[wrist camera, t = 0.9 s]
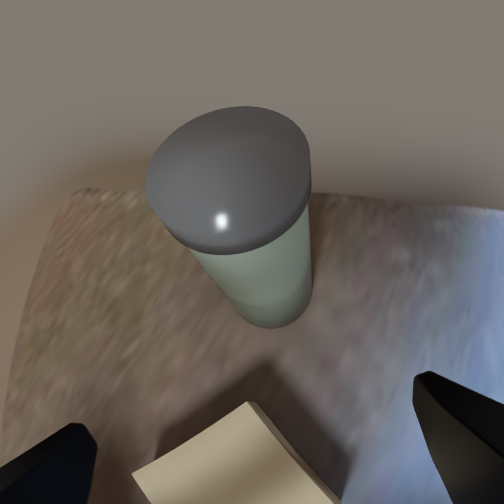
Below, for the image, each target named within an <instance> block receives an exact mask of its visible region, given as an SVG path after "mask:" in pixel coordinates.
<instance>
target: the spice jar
mask: <svg viewBox="0 0 504 504" xmlns="http://www.w3.org/2000/svg"><path fill="white" fill-rule="evenodd" d="M145 192H146V197H147V200H148V203H149V205H150V206H151V208H152V210H153V211H154V212H155V214H156V215H157V216H158V218H159V219H160V220H161V222H162V223H163V224H164V226H165V227H166V228H167V229H168V231H169V232H170V233H171V234H172V236H173V237H174V238H175V239H176V240H178V241H179V242H180V243H181V244H183V245H185V246H186V247H188V249H189V250H190V251H191V253H192V254H193V255H194V257H195V258H196V259H197V260H198V262H199V263H200V264H201V266H202V267H203V268H204V270H205V271H206V272H207V274H208V275H209V276H210V277H211V279H212V280H213V281H214V283H215V284H216V285H217V286H218V288H219V289H220V290H221V292H222V293H223V294H224V295H225V297H226V298H227V299H228V300H229V302H230V303H231V304H232V305H233V307H234V308H235V309H236V311H237V312H238V313H239V314H240V315H241V316H242V318H243V319H245V320H246V321H247V322H249V323H250V324H252V325H255V326H257V327H261V328H269V329H272V328H279V327H283V326H286V325H288V324H290V323H292V322H294V321H295V320H296V319H298V318H299V317H300V316H301V315H302V314H303V312H304V311H305V310H306V308H307V307H308V304H309V302H310V299H311V294H312V274H311V251H310V231H309V214H308V200H309V197H310V194H311V165H310V150H309V146H308V142H307V140H306V137H305V135H304V134H303V132H302V131H301V129H300V128H299V127H298V126H297V125H296V124H295V123H294V122H293V121H291V120H290V119H289V118H287V117H285V116H283V115H282V114H280V113H277V112H275V111H272V110H268V109H265V108H259V107H249V106H243V107H242V106H241V107H230V108H224V109H219V110H216V111H212V112H209V113H207V114H204V115H201V116H199V117H197V118H195V119H193V120H191V121H189V122H187V123H186V124H184V125H183V126H181V127H180V128H178V129H177V130H176V131H174V132H173V133H172V134H171V135H170V136H169V137H168V138H167V139H166V140H165V141H164V142H163V143H162V144H161V145H160V147H159V148H158V149H157V151H156V152H155V154H154V155H153V157H152V159H151V161H150V163H149V166H148V169H147V172H146V177H145Z"/></svg>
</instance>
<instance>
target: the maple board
mask: <svg viewBox="0 0 504 504" xmlns="http://www.w3.org/2000/svg"><path fill="white" fill-rule="evenodd" d="M132 476H133V477H134V479H135V481H136V482H137V484H138V485H139V487H140V488H141V490H142V491H143V492H144V494H145V495H146V497H147V498H148V500H149V501H150V502H151V504H342V502H341V500H340V499H339V498H338V497H337V496H336V495H335V494H334V493H333V492H332V491H331V490H330V489H329V487H328V486H327V485H326V484H325V483H324V482H323V481H322V480H321V479H320V478H319V476H318V475H317V474H316V473H315V472H314V471H313V470H312V469H311V468H310V466H309V465H308V464H307V463H306V462H305V461H304V460H303V458H302V457H301V456H300V455H299V454H298V453H297V451H296V450H295V449H294V448H293V447H292V446H291V444H290V443H289V442H288V441H287V440H286V438H285V437H284V436H283V435H282V434H281V432H280V431H279V430H278V429H277V428H276V426H275V425H274V424H273V423H272V421H271V420H270V419H269V418H268V416H267V415H266V414H265V413H264V411H263V410H262V409H261V408H260V406H259V405H258V404H257V403H256V402H251V401H246V402H245V403H244V404H242V405H241V406H239V407H238V408H236V409H235V410H234V411H232V412H231V413H229V414H228V415H226V416H225V417H223V418H222V419H220V420H219V421H217V422H216V423H215V424H213V425H211V426H210V427H208V428H207V429H205V430H204V431H202V432H201V433H199V434H198V435H196V436H195V437H193V438H191V439H190V440H188V441H187V442H185V443H183V444H182V445H180V446H179V447H177V448H175V449H174V450H172V451H170V452H169V453H167V454H165V455H164V456H162V457H160V458H158V459H157V460H155V461H153V462H152V463H150V464H148V465H146V466H144V467H143V468H141V469H139V470H137V471H135V472H134V473H132Z"/></svg>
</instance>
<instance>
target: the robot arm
mask: <svg viewBox="0 0 504 504" xmlns="http://www.w3.org/2000/svg"><path fill="white" fill-rule="evenodd" d="M412 401H413V407H414V410H415V412H416V415H417V418H418V421H419V424H420V426H421V429H422V432H423V435H424V438H425V441H426V444H427V447H428V450H429V452H430V455H431V457H432V460H433V462H434V464H435V466H436V468H437V470H438V472H439V474H440V476H441V478H442V481H443V483H444V485H445V487H446V489H447V491H448V494H449V496H450V498H451V500H452V502H453V504H504V404H502V403H500V402H497V401H495V400H493V399H491V398H488V397H486V396H484V395H482V394H479V393H477V392H475V391H473V390H471V389H469V388H466V387H464V386H462V385H460V384H458V383H455V382H453V381H451V380H449V379H447V378H445V377H443V376H440V375H438V374H436V373H434V372H432V371H426V372H424V373H421V374H418V375H416V376H415V377H414V382H413V399H412ZM97 449H98V448H97V443H96V441H95V440H94V438H93V437H92V435H91V434H90V432H89V431H88V430H87V428H86V427H85V426H84V425H83V424H81V423H69V424H68V425H66V426H65V427H63V428H62V429H60V430H59V431H57V432H56V433H54V434H53V435H51V436H49V437H48V438H46V439H45V440H43V441H42V442H40V443H39V444H37V445H36V446H34V447H32V448H31V449H29V450H28V451H26V452H25V453H23V454H21V455H20V456H18V457H17V458H15V459H13V460H12V461H10V462H9V463H7V464H5V465H4V466H2V467H1V468H0V504H87V503H88V499H89V495H90V491H91V485H92V479H93V473H94V467H95V461H96V455H97Z"/></svg>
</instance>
